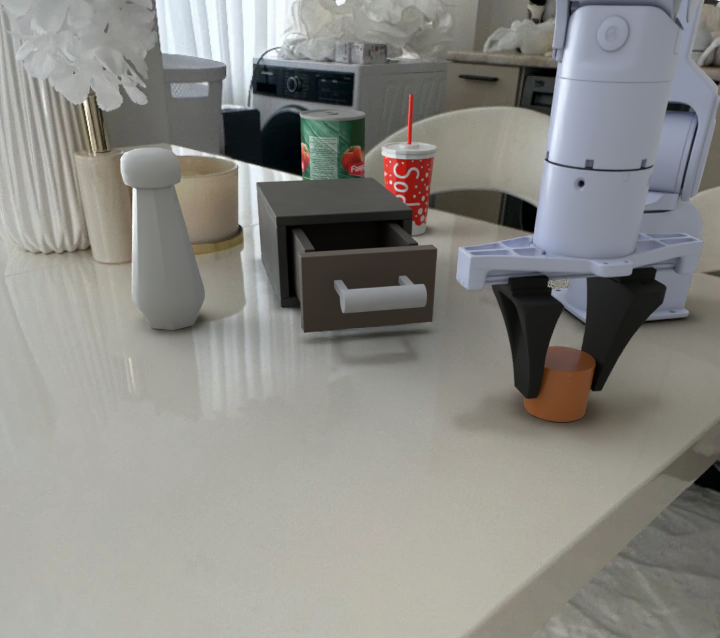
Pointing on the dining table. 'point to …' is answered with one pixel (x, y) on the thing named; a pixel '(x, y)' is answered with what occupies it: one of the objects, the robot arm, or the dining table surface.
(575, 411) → the cylinder
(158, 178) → the salt shaker
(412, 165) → the beverage cup
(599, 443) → the dining table surface
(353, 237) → the pod drawer
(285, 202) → the open desk drawer box
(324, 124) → the canned tomato
